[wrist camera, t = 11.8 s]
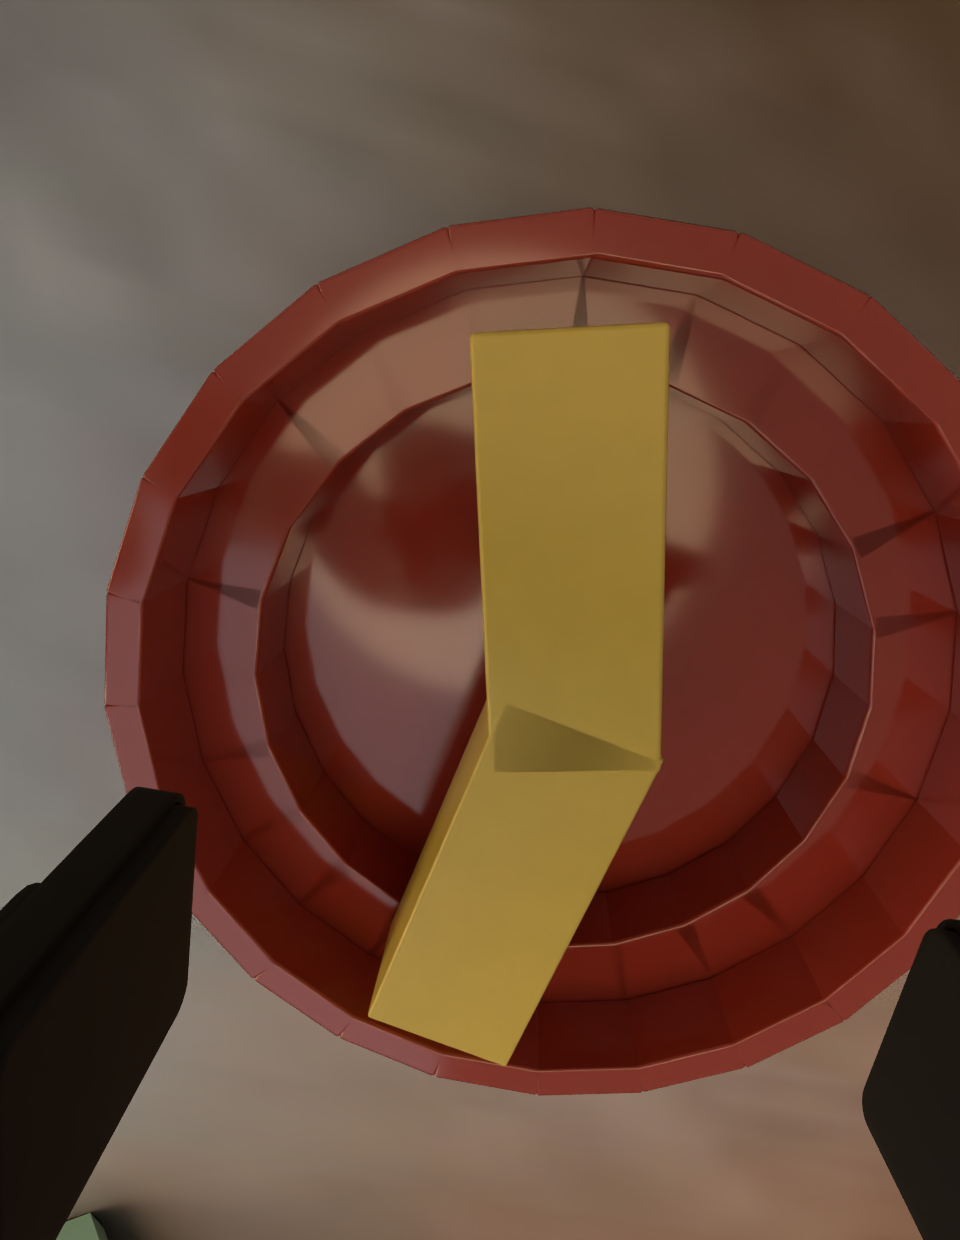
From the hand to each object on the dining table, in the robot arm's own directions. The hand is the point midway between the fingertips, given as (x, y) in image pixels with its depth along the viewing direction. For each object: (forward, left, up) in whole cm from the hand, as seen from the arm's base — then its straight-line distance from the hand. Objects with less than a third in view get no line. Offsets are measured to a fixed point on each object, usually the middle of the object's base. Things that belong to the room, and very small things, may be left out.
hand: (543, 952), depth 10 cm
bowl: (0, 0, -12) cm, 12 cm away
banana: (0, 0, -9) cm, 9 cm away
